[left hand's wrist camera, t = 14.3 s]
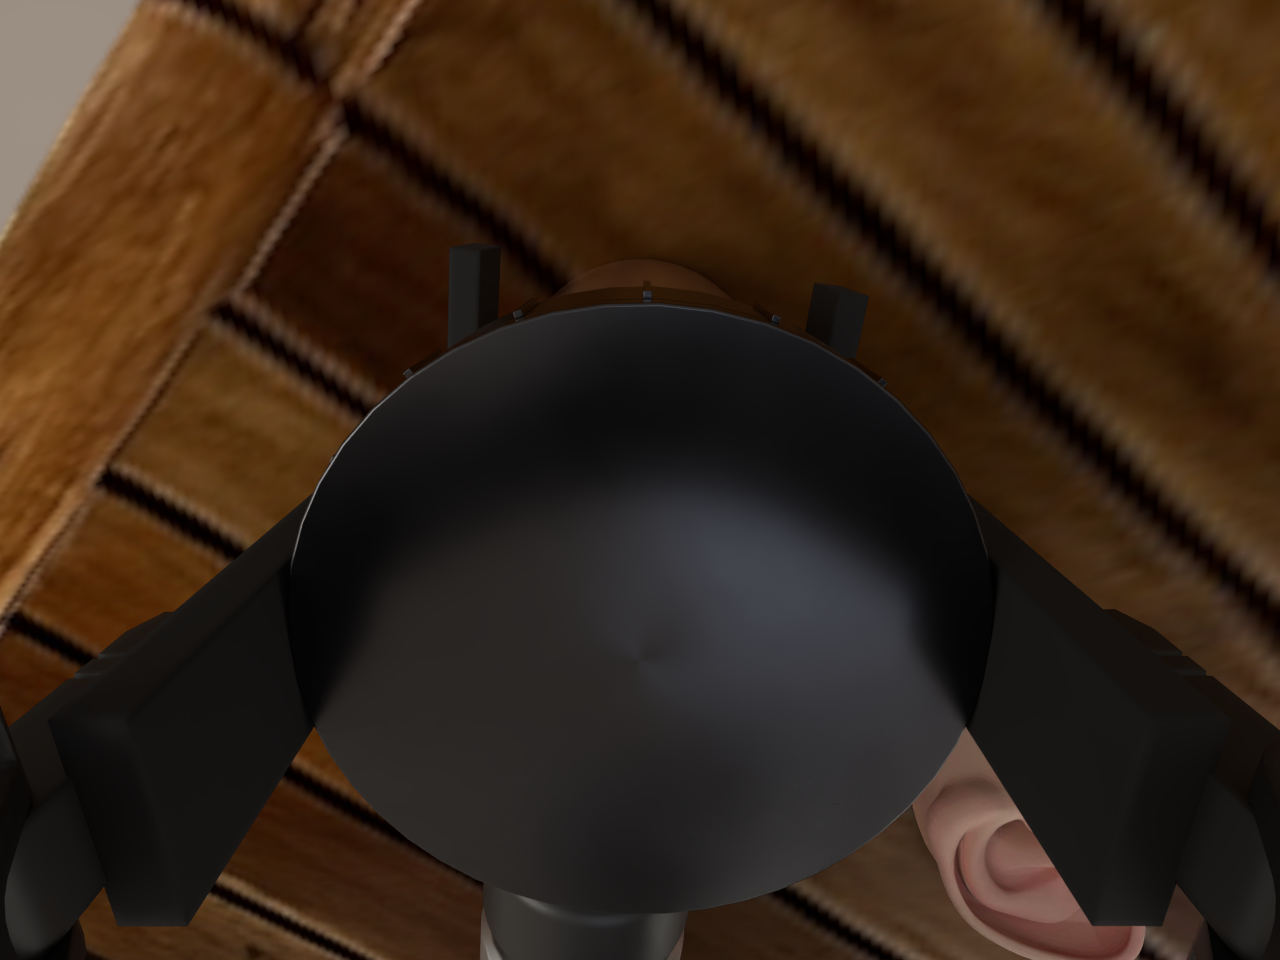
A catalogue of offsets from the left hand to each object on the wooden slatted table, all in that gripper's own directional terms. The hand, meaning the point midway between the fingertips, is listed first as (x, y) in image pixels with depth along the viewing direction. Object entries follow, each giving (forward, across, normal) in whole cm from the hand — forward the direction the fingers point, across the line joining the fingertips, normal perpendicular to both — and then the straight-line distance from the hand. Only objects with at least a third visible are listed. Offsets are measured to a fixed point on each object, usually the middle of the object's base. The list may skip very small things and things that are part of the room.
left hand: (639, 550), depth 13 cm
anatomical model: (+14, -18, +19) cm, 29 cm away
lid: (-3, 0, 0) cm, 3 cm away
